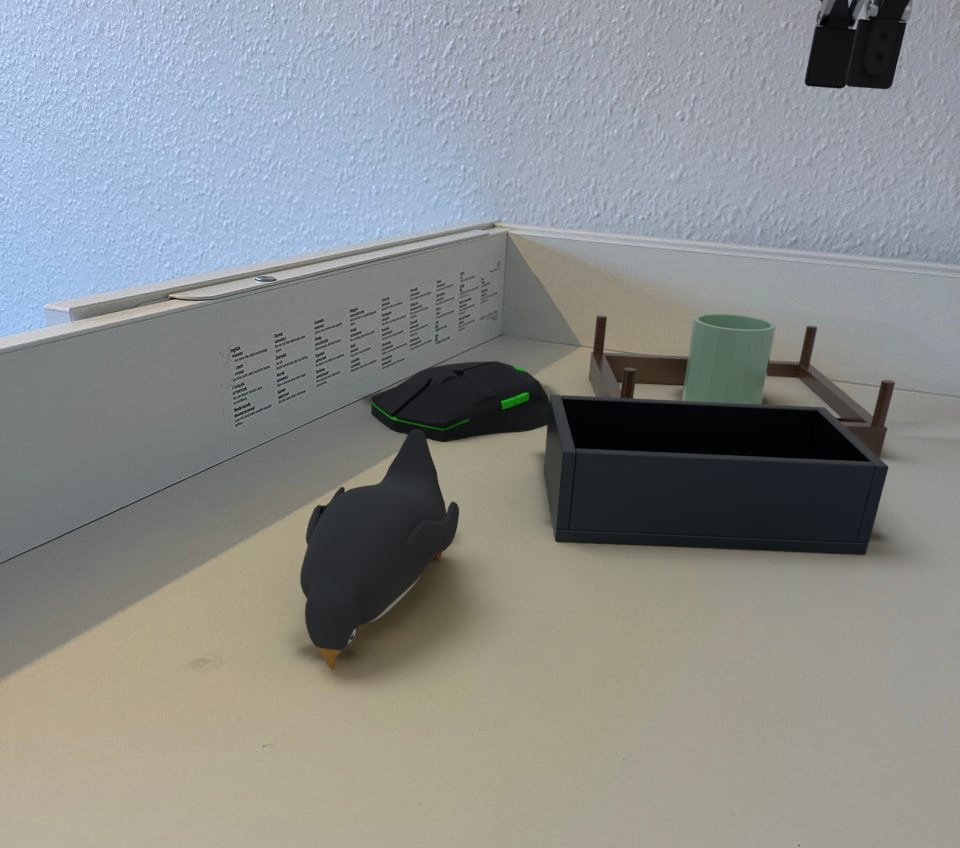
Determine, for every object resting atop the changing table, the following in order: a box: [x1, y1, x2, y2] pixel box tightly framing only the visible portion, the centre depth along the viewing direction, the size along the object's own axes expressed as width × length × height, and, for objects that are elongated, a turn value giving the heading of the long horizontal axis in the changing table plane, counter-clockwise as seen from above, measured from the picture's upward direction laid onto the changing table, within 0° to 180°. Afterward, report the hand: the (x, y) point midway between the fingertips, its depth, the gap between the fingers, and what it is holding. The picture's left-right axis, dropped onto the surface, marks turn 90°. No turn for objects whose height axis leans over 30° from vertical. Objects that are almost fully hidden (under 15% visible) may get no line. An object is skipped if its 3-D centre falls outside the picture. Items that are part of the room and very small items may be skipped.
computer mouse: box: [370, 360, 550, 442], centre depth 83 cm, size 11×16×4 cm
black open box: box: [543, 394, 889, 555], centre depth 66 cm, size 20×13×6 cm, turn 90°
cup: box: [681, 313, 777, 404], centre depth 86 cm, size 7×7×8 cm
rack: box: [588, 314, 896, 459], centre depth 87 cm, size 21×21×6 cm
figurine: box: [299, 429, 460, 670], centre depth 51 cm, size 7×10×15 cm
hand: (844, 87), depth 74 cm, fingers open, 9 cm apart
